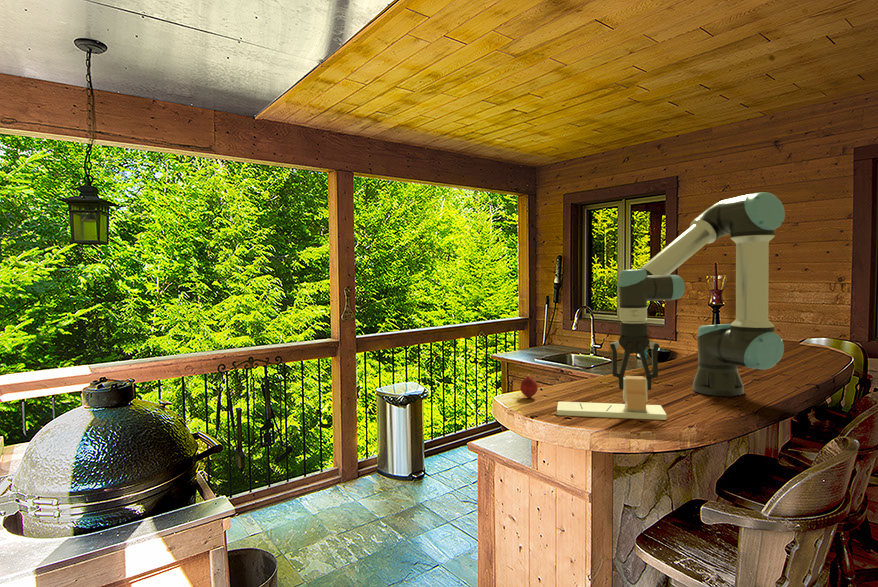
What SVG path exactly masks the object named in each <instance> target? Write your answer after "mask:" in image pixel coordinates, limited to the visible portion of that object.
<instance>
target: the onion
mask: <svg viewBox="0 0 878 587" xmlns="http://www.w3.org/2000/svg"><path fill="white" fill-rule="evenodd" d="M520 392H521V393H522V394H523V395H524V396H525V397H527V399H531V398H532V397H533V396H535V395H536V394H537V392H538V384H537V381H536V380H535V379H534V378H532V377H531V374H527V375H526V377H525V378H524V379H523V380H522V381H521V383H520Z"/></svg>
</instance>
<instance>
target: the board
mask: <svg viewBox="0 0 878 587" xmlns="http://www.w3.org/2000/svg"><path fill="white" fill-rule="evenodd" d="M556 406H557V408H556V415H557V416H572V417H593V418H595V417H596V418H613V419H614V418H617V419H618V418H619V419H639V420H641V419H642V420H657V421H658V420H663V421H664V420H665V421H666V420H667V413H666V411H665V410H664V408H663V406H662V405H660V404H646V412H635V411H627V408H626V405H625V403H611V402H610V403H606V402H602V403H601V402H582V401H581V402H580V401H579V402H578V401H557V405H556Z"/></svg>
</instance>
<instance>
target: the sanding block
mask: <svg viewBox="0 0 878 587" xmlns="http://www.w3.org/2000/svg"><path fill="white" fill-rule="evenodd" d="M624 378H626V398H627V401H624V404H625V405H626V408H627V411H635V412H646V405H647V402H646V394H645V379H644V378H645V377H644V376H643V375H642V376H641V375H624Z"/></svg>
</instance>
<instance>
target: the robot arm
mask: <svg viewBox="0 0 878 587" xmlns="http://www.w3.org/2000/svg"><path fill="white" fill-rule="evenodd" d="M785 218H786V213H785V207H784V205H783V202H782V201H781V200H780V199H779V198H778V197H777V195H775V194H773V193H771V192H765V191H764V192H762V191H761V192H754V193H753V192H752V193H749V194H745V195H739V196H736V197H731V198H730V197H729V198H726V199H722V200H720V201H719V202H716V203H714V204H713V205H711V206H709V207H708V208H707V209H706V210H704V211H702V213H701V214H699V215H698V216H697V217H695V218H694V219H693V220H692V221H691V222H690V224H689V228H687V229H685V231H683V232H682V233H681V234H680V235H678V237H676V238H675V239H674V240H672V242H670V243H669V244H668V245H667V246H665V247H664V248H663V249H662V250H660V251H659V252H658V253H656V255H654V256H653V257H652V258H651V259H650V260H648V261H647V262H646V263H645V264H644V265H642V266H641V267H640V268H639V269H638V268H637V269H623V270H620V272H619V276H618V282H617V284H616V285H617V291H618V295H619V297H618V298H619V299H618V300H619V301H618V302H619V320H620V324H619V339H618V341H615V342H610V343H609V346H610V348H611V367H612V368H611V374H612V376H613V377H615V378H618V387H619V390H622V400H623V402H625V401H627V398H626V378H625V372H626V369H627V365H628V361H629V358H630V355H632V354H635V355H636V354H637V355H639V358H640V362H641V365H642V367H643V368H642V369H643V371H644V375H645V377H644V379H645V394H646V403H648V400H649V398H648V395H649V394H648V391H651V390H652V380H653V379H654V378H658V377H659V369H658V368H659V365H658V352H659V351H658V350H659V347H660V345H659V343H658V342H653V341H650V339H649V337H648V335H649V334H648V330H649V329H648V327H649V326H648V323H647V321H648V302H651V301H653V302H654V301H674V300H678V299H680V298H682V297H683V295H684V294H685V291H686V289H685V286H686V285H685V281H684V279H683V277H681V276H680V275H679V274H678V275H677V274H672V273H673V272H674V271H676V270H677V269H678V268H679V267H680V266H682V265H683V264H684V263H685V262H687V261H688V260H689V259H690V258H691V257H692V256H693V255H695V254H696V253H697V252H699V250H701V249H702V248H703V247H704V246H705V245H707V244H712V243H715V241H717V240H718V239H719V238H723V237H725V236H728V235H729V236H730V240H731V241H732V242H734V243H735V320H734V321H732V322H731V323H724V324H723V323H722V324H721V323H720V324H719V323H718V324H708V325H700V326H699V327H698V328H697V336H696V339H697V340H696V341H697V361H698V362H697V363H698V364H697V366H698V367H697V371H696V374H695V376H694V379H693V382H692V390H693V391H694V392H696V393H699V394H702V395H708V396H714V397H738V396H737V395H739V396H742V394H743V395H744V393H745V386H744V384H743V381H742V379H741V378H742V377H741V375H740V373H739V370H738V369H739V368H738V366H740V367H745V368H749V369H752V370H769V369H771V368H773V367H775V366H777V363H779V362H780V360H781V359H782V358H783V355H784V353H785V352H784V351H785V344H784V340H783V338H781V336H780V335H779V334H777V333H776V332H775V325H774V324H773V323H772V322H771V321H770V320H769V293H770V292H769V289H770V288H769V284H770V281H769V280H770V278H769V276H770V275H769V274H770V272H769V270H770V269H769V268H770V266H769V263H770V260H769V257H770V256H769V251H770V250H769V248H770V247H769V244H770V241H771V240H773V239H774V238H775V237H776V236H775V235H776V229H778V228H780V227H781V226H782V223H783V222H784V221H785ZM619 346H620V347H621V348H622V349H623V350H624V351H623V357H622V359H621V364H620V368H619V371H618V351H617V350H618V349H619ZM648 346H649V348H650V350H651V372H650V369H649V366H648V361H647V358H646V354H645V350H646V349H647V348H648Z"/></svg>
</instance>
